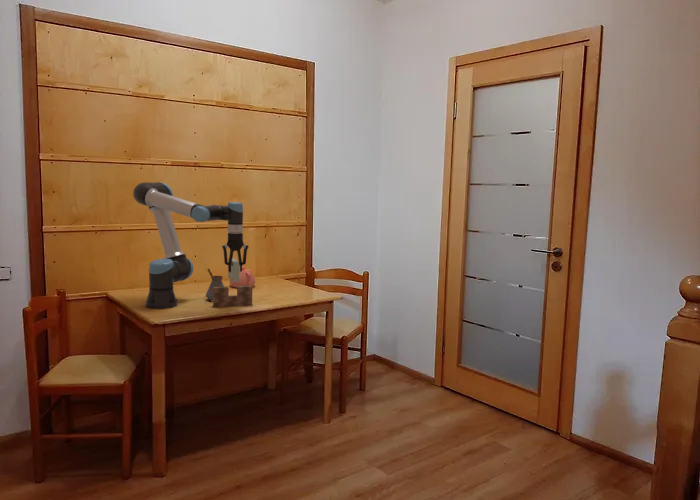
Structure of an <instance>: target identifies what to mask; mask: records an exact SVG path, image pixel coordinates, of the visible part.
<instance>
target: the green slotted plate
mask: <svg viewBox="0 0 700 500" xmlns="http://www.w3.org/2000/svg"><path fill="white" fill-rule="evenodd" d="M227 261H228V262H229V258H227ZM231 265H232V266H233V279H231V278H230V272H229V271H228V270H227V271H228V273H227V274H228V275H227V276H228V278H229V280H230V279H231V280H232V281H233V282H239V260H237V259H236V258H234V257H232V264H231Z"/></svg>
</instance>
